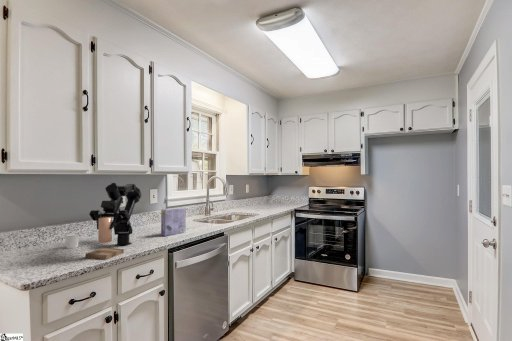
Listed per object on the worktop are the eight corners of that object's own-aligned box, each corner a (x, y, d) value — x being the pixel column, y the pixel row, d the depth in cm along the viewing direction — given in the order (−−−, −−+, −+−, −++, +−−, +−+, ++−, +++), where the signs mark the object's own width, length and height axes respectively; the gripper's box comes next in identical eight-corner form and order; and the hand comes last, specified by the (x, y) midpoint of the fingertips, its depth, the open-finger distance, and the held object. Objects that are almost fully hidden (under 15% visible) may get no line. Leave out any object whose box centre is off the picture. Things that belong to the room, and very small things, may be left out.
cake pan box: (182, 231, 208) (182, 207, 209) (187, 232, 205) (187, 207, 206) (160, 235, 192) (160, 209, 193) (165, 236, 189) (165, 209, 190)
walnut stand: (104, 251, 151) (104, 247, 151) (123, 253, 148) (123, 249, 148) (85, 257, 139) (85, 253, 139) (106, 259, 137) (106, 255, 137)
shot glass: (65, 249, 156) (65, 236, 156) (64, 246, 162) (64, 234, 162) (79, 247, 160) (80, 234, 160) (78, 245, 166) (78, 232, 166)
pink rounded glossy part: (99, 240, 146) (99, 217, 146) (112, 240, 148) (112, 216, 148) (97, 243, 140) (97, 218, 140) (110, 242, 142) (111, 218, 142)
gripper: (91, 194, 148) (78, 219, 137) (127, 194, 149) (117, 219, 137) (99, 208, 156) (87, 232, 145) (133, 208, 156) (124, 232, 145)
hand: (103, 229), depth 143 cm, fingers closed on pink rounded glossy part, 6 cm apart
